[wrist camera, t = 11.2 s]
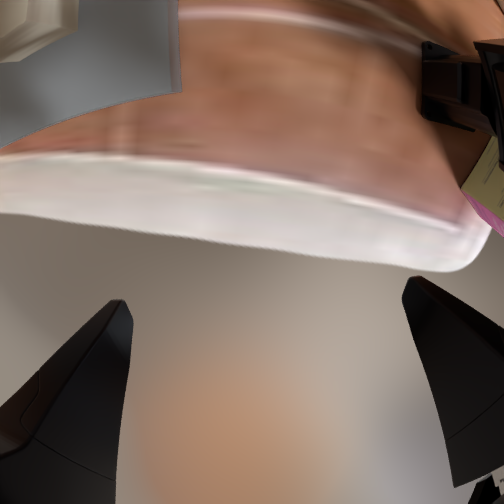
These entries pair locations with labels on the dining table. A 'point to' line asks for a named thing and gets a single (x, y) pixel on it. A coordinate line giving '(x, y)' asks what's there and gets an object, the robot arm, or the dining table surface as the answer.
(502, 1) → the supplement can
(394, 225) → the dining table surface
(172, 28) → the base board
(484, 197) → the box
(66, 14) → the cube
